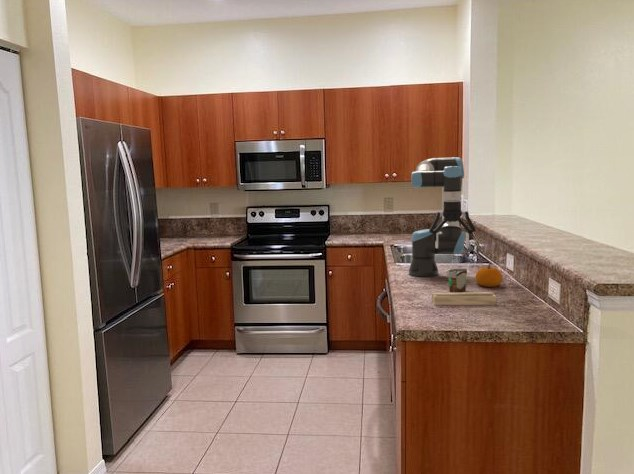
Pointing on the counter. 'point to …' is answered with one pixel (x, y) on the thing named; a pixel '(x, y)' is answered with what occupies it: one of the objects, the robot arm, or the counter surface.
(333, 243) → the counter surface
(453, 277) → the food container
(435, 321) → the counter surface
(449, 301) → the board
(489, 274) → the fruit
